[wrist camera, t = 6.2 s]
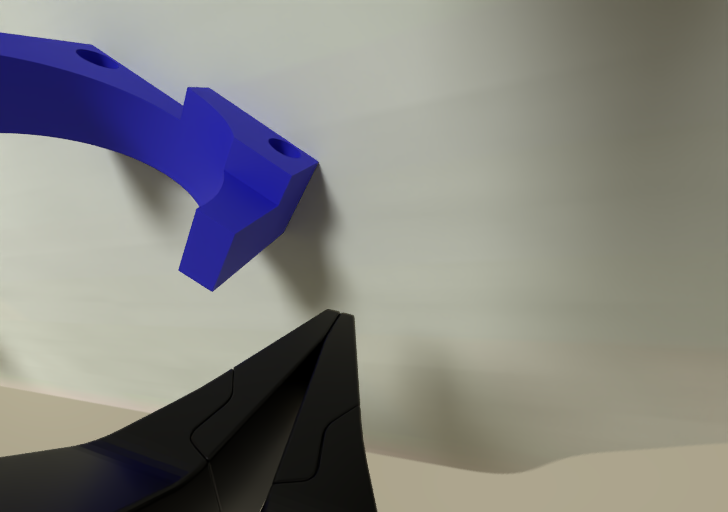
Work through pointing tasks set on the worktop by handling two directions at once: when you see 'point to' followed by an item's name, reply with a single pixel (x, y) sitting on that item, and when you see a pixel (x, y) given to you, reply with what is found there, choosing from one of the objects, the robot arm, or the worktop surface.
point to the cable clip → (162, 144)
